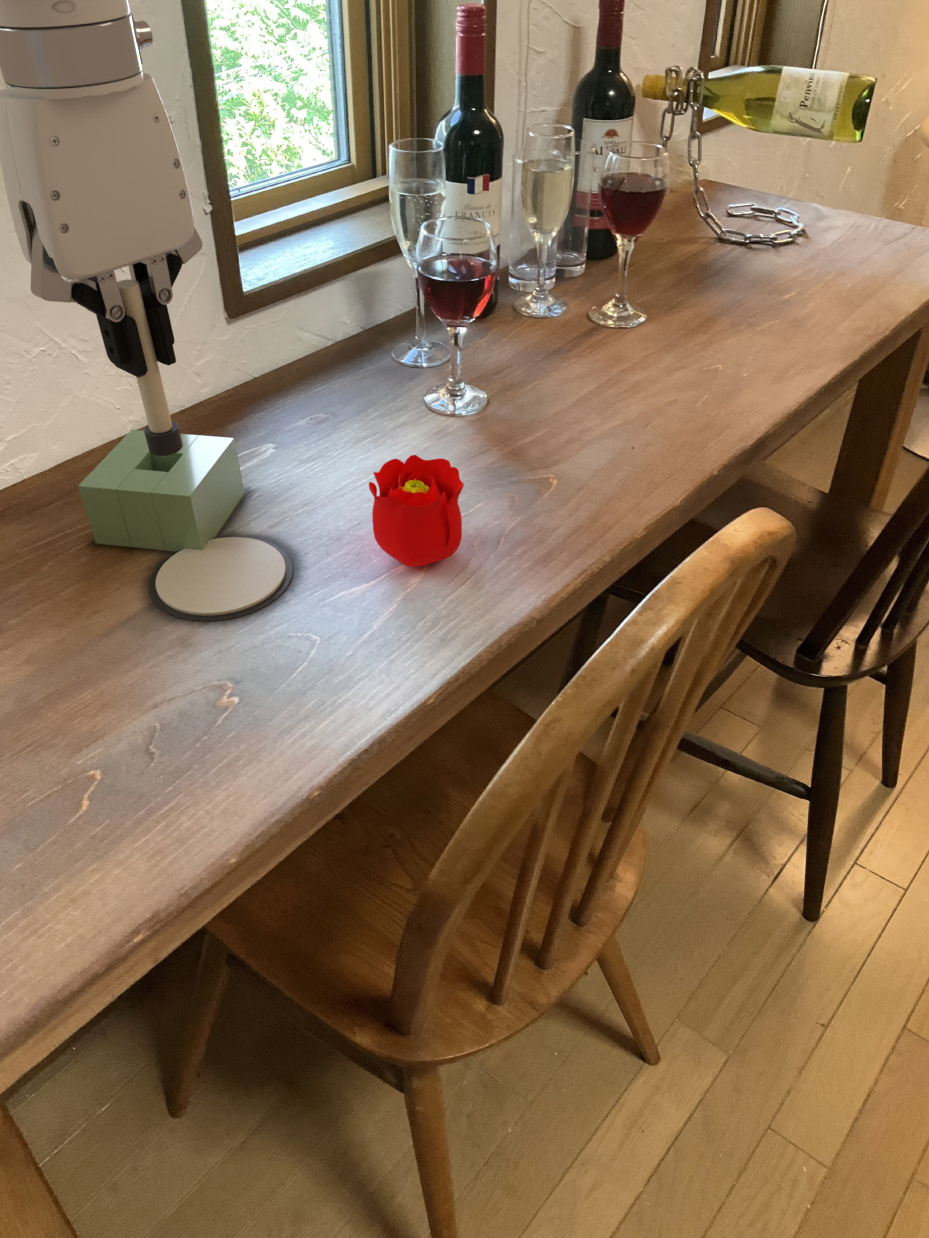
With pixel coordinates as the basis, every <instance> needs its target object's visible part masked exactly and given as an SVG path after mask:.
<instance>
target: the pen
mask: <svg viewBox="0 0 929 1238" xmlns="http://www.w3.org/2000/svg"><path fill="white" fill-rule="evenodd" d="M117 284H118V287H119V291H120V294H121V298H122V302H123V305H124V309H125V313H126V315H127V316H130V317H132V318H134V319H135V321H136V324H137V328H138V332H139V336H140V340H141V344H142V348H143V352H144V356H145V360H146V365H147V369H148V372H146V375H144V376H141V377H139V378H138V377H136V376H135V378H136V382H137V385H138V390H139V393H140V397H141V401H142V405H143V409H144V413H145V418H146V421H147V425H146V426H145V427H144V429H143V431H144V433H145V437H146V441H147V445H148V448H149V452H150V453H151V454H153V455H156V456H167V455H172V454H174V453H177V452H178V451H180V450H181V449H182V447H183V443H182V439H181V435H180V434H181V430H180V427H179V424H178V423H177V422H176V421H174V420H172V418H171V414H170V408H169V405H168V400H167V397H166V392H165V388H164V384H163V380H162V376H161V375H162V374H161V371H160V367H159V362H158V361H157V358H156V354H155V350H154V345H153V341H152V337H151V333H150V328H149V324H148V320H147V316H146V312H145V307H144V303H143V299H142V295H141V290H140V286H139V283H138V281H136V280H132V279H122V280H119V281H117Z"/></svg>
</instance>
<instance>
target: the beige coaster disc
mask: <svg viewBox="0 0 929 1238" xmlns="http://www.w3.org/2000/svg"><path fill="white" fill-rule="evenodd" d="M293 576H294V564H293V562H292V558H291V557H290V556H289V554H288V553H287V552H286V550H284V549H283V548H282V547H280V546H279V545H277V544H275V543H273V542H271V541H268V540H266V539H263V538H259V537H254V536H248V535H247V536H246V535H229V536H228V535H227V536H218V537H217V536H216V537H215V538H213V539H211V540H209V541H208V543H207V544H206V545H205V547H204V548H203V550H195V549H183V550H181V551H176V552H175V551H174V552H173V553H171V554H170V555H168V556H167V557H166V558H165V559H163V561H161V562H160V563H159V564H158V566H157V567H156V568H155V569H154V571H153V573H152V574H151V577H150V579H149V581H148V582H149V584H148V592H149V596H150V599H151V600H152V602H153V604H155V606H156V607H157V608H158V609H160V610H161V611H162V612H163V613H165V614H167V615H169V616H172V617H175V618H177V619H181V620H184V621H188V622H189V621H191V622H200V623H211V622H223V621H229V620H234V619H238V618H242V617H245V616H248V615H252V614H253V613H256V612H258V611H260V610H262V609H264V608H266V607H268V606H269V605H271V604H272V603H274V602H275V601H276V600H277V599H278V598H280V597H281V596H282V595H283V594H284V592H285V591H286V590H287V589H288V587H289V586H290V584H291V582H292V579H293Z"/></svg>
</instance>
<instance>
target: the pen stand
mask: <svg viewBox="0 0 929 1238" xmlns="http://www.w3.org/2000/svg"><path fill="white" fill-rule="evenodd" d="M180 435H181V439H182V443H183V447H182V449H181V450H180V451H178V452H177V453H174V454H172V455H167V456H156V455H153V454H151V453H150V452H149V448H148V445H147V441H146V437H145V433H144V430H139V429H138V430H137V429H131V430H129V432H128V433H127V434H126V435H125V436H124V437H123V438H122V439H121V440H120V441H119V442H118V443H117V444H116V445H115V446H114V448H113V449H111V451H109V453H108V454H107V455H106V456H105V457H104V458H103V459H102V460H101V461H100V462H99V463H98V464H97V465H96V466H95V468H93V469H92V471H91V472H89V474H87V476H86V477H85V478H84V479H83V480H82V481H81V482H80V483H79V484H78V485H77V487H78V491H79V494H80V497H81V501H82V504H83V507H84V510H85V513H86V516H87V519H88V523H89V526H90V529H91V532H92V533H91V534H92V535H93V539H94V542H95V544H98V545H107V546H117V547H119V546H120V547H127V548H137V549H138V548H139V549H148V550H157V551H168V552H174V553H175V552H176V551H181V550H183V549H195V550H203V548H204V547H205V545H206V544H207V543H208V541H209V540H211V539H213V538H216V537H217V535H218V533H219V532H220V531H221V529H222V528H223V526H224V525H225V523H226V522H227V520H228V519H229V517H230V516H231V515H232V513H233V512H234V510H235V509H236V507H237V506H238V504H239V503H240V501H241V500H242V499H243V498H244V495H245V493H246V492H245V487H244V482H243V478H242V471H241V466H240V461H239V455H238V451H237V445H236V444H237V443H236V439H235V438H234V437H225V436H215V435H214V436H213V435H202V434H188V433H180Z"/></svg>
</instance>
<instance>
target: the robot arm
mask: <svg viewBox="0 0 929 1238" xmlns="http://www.w3.org/2000/svg"><path fill="white" fill-rule="evenodd" d="M130 9H131V8H130V5H129V0H0V73H1V76H2V79H3V83H4V86H5V88H4V89H0V168H1V173H2V178H3V183H4V187H5V192H6V197H7V201H8V205H9V209H10V210H9V211H10V214H11V218H12V221H13V226H14V229H15V233H16V237H17V239H18V243H19V246H20V249H21V252H22V254H23V256H24V258H25V260H26V261H27V262H28V263H29V264H30V266H31V268H30V292H31V294H33V295H34V296H35V297H37V298H40V299H42V300H44V301H46V302H56V303H69V304H71V303H76V304H77V305H79V306H81V307H83V308H84V309H86V310H87V311H89V312H91V313H93V314H94V315H95V316H96V320H97V323H98V327H99V331H100V334H101V339H102V342H103V345H104V350H105V353H106V356H107V358H108V360H109V361H110V362H111V363H112V364H113V365H114V366H115V367H116V368H117V369H120V370H122V371H124V372H125V373H128V374H130V375H132V376H133V377H135V378H136V377H138V378H139V377H141V376H144V375H146V372H148V369H147V365H146V360H145V356H144V352H143V348H142V344H141V340H140V336H139V332H138V328H137V324H136V321H135V319H134V318H132V317H130V316H127V315H126V313H125V309H124V305H123V302H122V298H121V294H120V291H119V287H118V284H117V282H118V281H117V277H116V274H115V271H116V270H119V269H123V268H126V267H128V270H129V274H130V280H136V281H138V283H139V286H140V290H141V295H142V299H143V303H144V307H145V312H146V316H147V320H148V324H149V328H150V333H151V337H152V341H153V345H154V350H155V354H156V358H157V362H158V363H161V364H163V365H166V366H171V365H174V364H176V362H177V357H176V353H175V349H174V344H175V336H174V331H173V326H172V322H171V317H170V313H169V309H168V304H170V303H171V301H173V297H174V293H173V286H174V284H175V282H176V280H177V278H178V276H179V274H180V272H181V270H182V267H183V265H186V264H187V263H188V262H189V261H190V260H191V259H193V257H195V256H196V255H198V253H199V252H200V251H201V250H202V249H203V241H202V238H201V237H200V234H199V232H198V231H197V229H196V227H195V220H194V211H193V205H192V201H191V195H190V190H189V186H188V182H187V177H186V173H185V169H184V165H183V161H182V157H181V154H180V150H179V147H178V144H177V140H176V137H175V134H174V131H173V128H172V124H171V122H170V119H169V116H168V113H167V111H166V108H165V105H164V102H163V100H162V98H161V95H160V92H159V90H158V88H157V86H156V83H155V80H154V78H153V76H152V75H150V74H149V73H145V72H143V68H142V65H143V58H142V54H141V51H142V49H143V48H148V47H151V46H152V45H153V42H154V41H153V40H154V39H153V32H152V29H151V26H150V25H149V24H148V22H147V21H145V20H138V21H137V20H136V21H135V20H134V15H133V13H132V12H131V10H130Z"/></svg>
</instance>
